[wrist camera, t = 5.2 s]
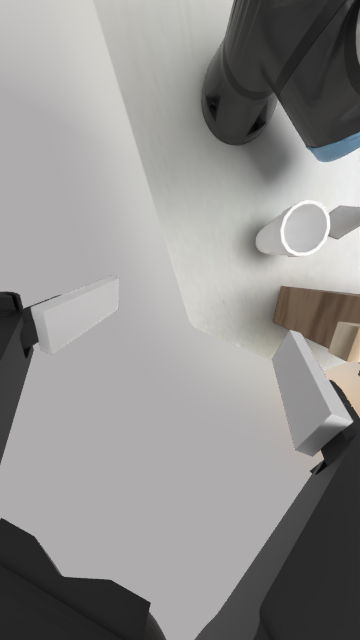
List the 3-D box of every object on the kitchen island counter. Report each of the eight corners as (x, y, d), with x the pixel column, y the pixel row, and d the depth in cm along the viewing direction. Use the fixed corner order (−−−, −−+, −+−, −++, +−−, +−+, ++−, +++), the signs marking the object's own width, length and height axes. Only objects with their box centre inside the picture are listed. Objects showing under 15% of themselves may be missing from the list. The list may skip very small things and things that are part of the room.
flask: (336, 244, 48) (379, 238, 38) (318, 226, 46) (358, 214, 37) (357, 220, 46) (407, 206, 37) (339, 200, 45) (386, 180, 35)
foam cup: (248, 260, 47) (278, 256, 34) (250, 220, 45) (283, 201, 32) (284, 258, 48) (326, 254, 35) (287, 219, 45) (334, 199, 33)
